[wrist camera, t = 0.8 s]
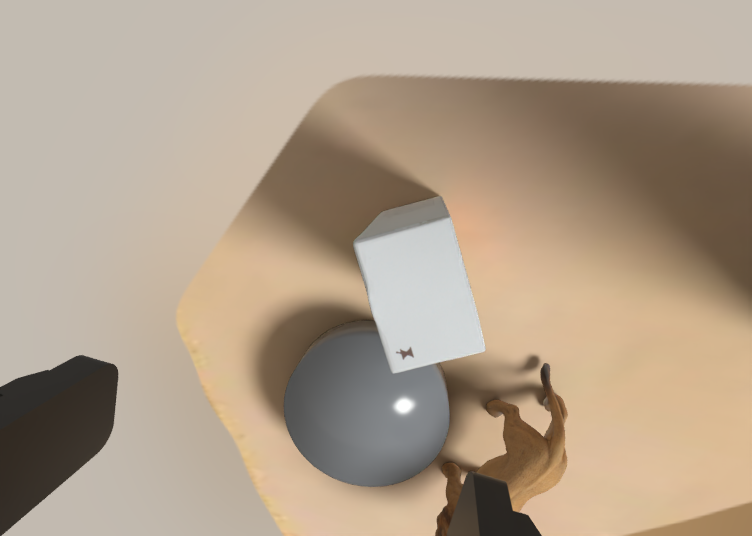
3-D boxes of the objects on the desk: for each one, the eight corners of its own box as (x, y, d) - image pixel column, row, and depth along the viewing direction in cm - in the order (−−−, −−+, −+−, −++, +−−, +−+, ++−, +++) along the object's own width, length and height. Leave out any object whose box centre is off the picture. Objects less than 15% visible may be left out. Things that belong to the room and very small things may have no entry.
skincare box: (465, 280, 30) (489, 357, 18) (403, 295, 31) (388, 379, 19) (442, 191, 29) (452, 213, 17) (378, 209, 29) (346, 242, 18)
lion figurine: (481, 532, 34) (500, 659, 26) (417, 504, 34) (414, 621, 26) (578, 374, 31) (638, 459, 22) (506, 342, 31) (537, 415, 22)
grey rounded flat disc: (453, 326, 31) (456, 344, 28) (441, 466, 33) (442, 495, 31) (296, 314, 32) (283, 329, 29) (296, 450, 34) (284, 477, 32)
